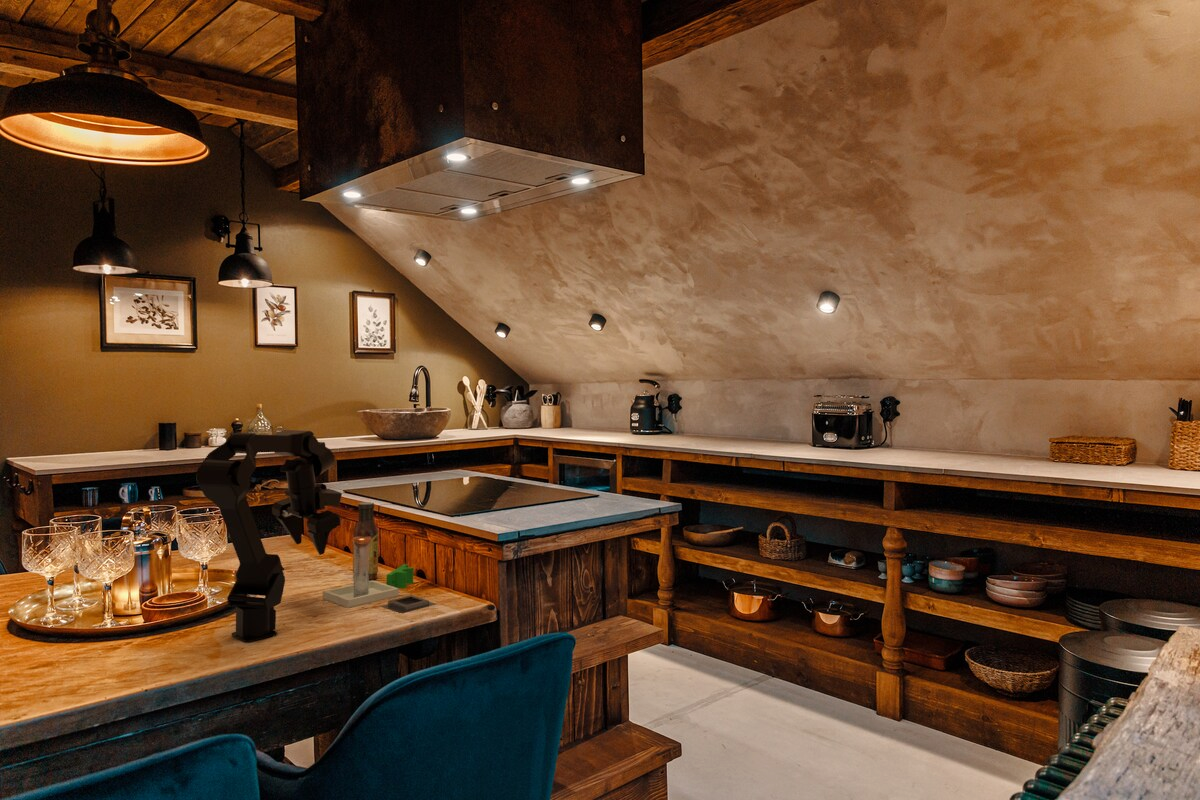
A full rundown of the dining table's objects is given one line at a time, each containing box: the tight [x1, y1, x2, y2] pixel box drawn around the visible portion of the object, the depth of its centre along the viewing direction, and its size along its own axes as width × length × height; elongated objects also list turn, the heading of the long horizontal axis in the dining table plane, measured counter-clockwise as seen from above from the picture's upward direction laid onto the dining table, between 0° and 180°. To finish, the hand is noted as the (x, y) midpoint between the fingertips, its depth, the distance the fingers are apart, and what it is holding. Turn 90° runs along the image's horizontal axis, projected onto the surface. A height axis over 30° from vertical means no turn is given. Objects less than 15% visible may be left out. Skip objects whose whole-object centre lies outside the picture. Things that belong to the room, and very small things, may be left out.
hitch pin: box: [352, 536, 371, 598], centre depth 177 cm, size 4×4×14 cm
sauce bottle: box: [352, 501, 379, 581], centre depth 195 cm, size 6×6×20 cm
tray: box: [322, 579, 400, 609], centre depth 177 cm, size 14×11×2 cm
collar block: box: [379, 594, 437, 614], centre depth 172 cm, size 10×8×1 cm
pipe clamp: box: [385, 563, 415, 589], centre depth 189 cm, size 11×4×5 cm, turn 173°
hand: (310, 548), depth 170 cm, fingers open, 9 cm apart
